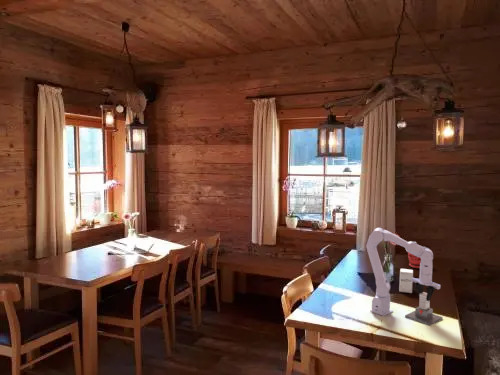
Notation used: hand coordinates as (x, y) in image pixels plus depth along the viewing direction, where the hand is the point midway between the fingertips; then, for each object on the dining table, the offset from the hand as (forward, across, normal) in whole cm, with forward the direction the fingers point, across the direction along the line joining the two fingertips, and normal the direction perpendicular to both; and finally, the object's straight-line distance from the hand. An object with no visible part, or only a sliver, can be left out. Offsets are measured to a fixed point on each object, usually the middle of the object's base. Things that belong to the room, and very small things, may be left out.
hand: (424, 299), depth 209 cm
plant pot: (+10, -51, +86) cm, 100 cm away
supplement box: (+10, -28, +31) cm, 43 cm away
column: (+6, 0, 0) cm, 6 cm away
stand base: (+10, 0, 0) cm, 10 cm away
